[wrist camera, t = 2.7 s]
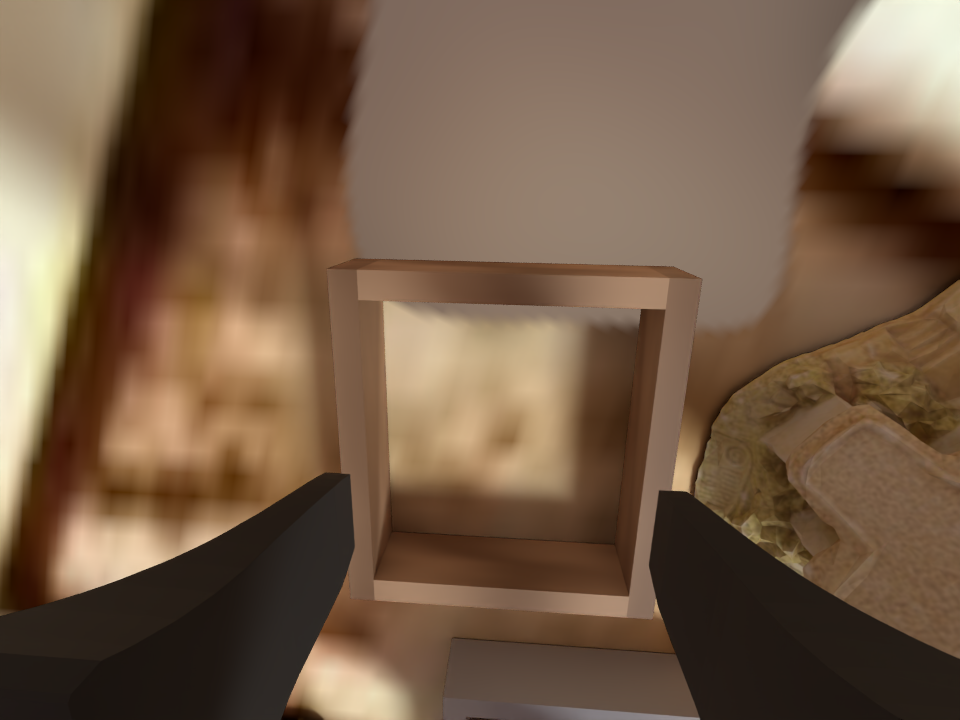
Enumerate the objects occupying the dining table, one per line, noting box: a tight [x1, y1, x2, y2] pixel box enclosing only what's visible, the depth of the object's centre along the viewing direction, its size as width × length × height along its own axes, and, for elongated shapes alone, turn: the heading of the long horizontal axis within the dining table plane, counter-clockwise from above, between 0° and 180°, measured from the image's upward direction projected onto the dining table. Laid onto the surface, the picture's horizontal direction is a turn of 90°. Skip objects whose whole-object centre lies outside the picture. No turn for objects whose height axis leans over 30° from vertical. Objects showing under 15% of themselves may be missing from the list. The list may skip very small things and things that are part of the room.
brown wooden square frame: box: [327, 259, 702, 619], centre depth 16 cm, size 10×11×2 cm
